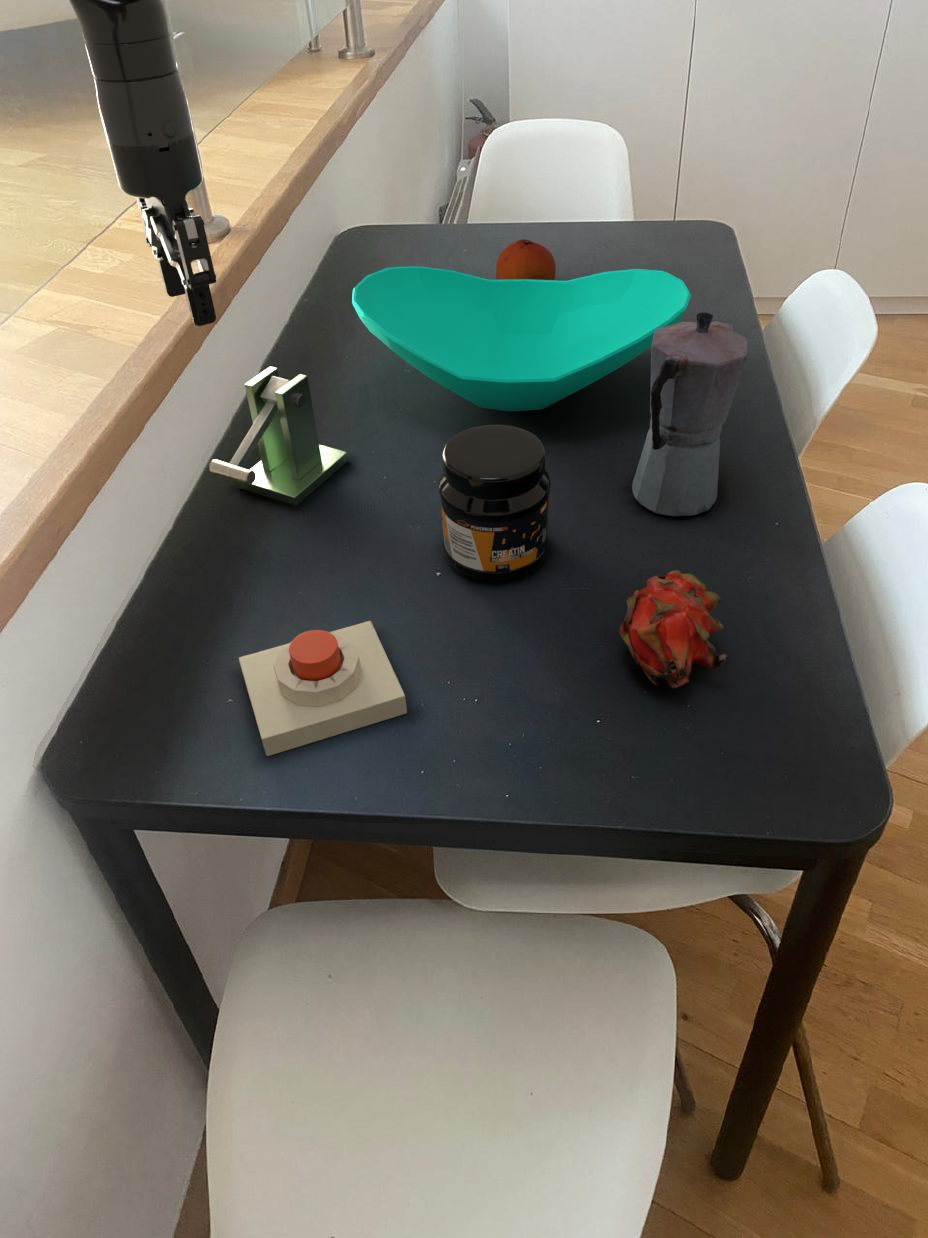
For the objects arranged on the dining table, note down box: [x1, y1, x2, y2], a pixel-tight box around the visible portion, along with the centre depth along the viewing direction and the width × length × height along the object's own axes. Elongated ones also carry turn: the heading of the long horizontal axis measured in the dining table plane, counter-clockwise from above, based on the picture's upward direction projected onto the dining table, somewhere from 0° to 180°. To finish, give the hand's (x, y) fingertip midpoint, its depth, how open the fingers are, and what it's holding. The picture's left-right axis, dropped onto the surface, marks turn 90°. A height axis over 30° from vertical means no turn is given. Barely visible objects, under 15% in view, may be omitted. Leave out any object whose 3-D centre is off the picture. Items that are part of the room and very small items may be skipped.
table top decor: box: [351, 265, 692, 412], centre depth 112 cm, size 40×28×13 cm
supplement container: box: [438, 424, 551, 582], centre depth 88 cm, size 10×10×12 cm
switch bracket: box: [237, 366, 349, 507], centre depth 101 cm, size 10×8×12 cm
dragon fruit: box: [619, 569, 727, 689], centre depth 78 cm, size 8×8×12 cm
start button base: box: [238, 620, 408, 757], centre depth 78 cm, size 12×10×4 cm
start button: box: [289, 629, 341, 681], centre depth 76 cm, size 4×4×2 cm
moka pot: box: [631, 311, 749, 517], centre depth 91 cm, size 10×15×20 cm, turn 148°
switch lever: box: [209, 376, 291, 484], centre depth 96 cm, size 12×5×2 cm, turn 151°
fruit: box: [495, 239, 557, 280], centre depth 136 cm, size 9×9×8 cm
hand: (191, 308), depth 92 cm, fingers open, 8 cm apart
